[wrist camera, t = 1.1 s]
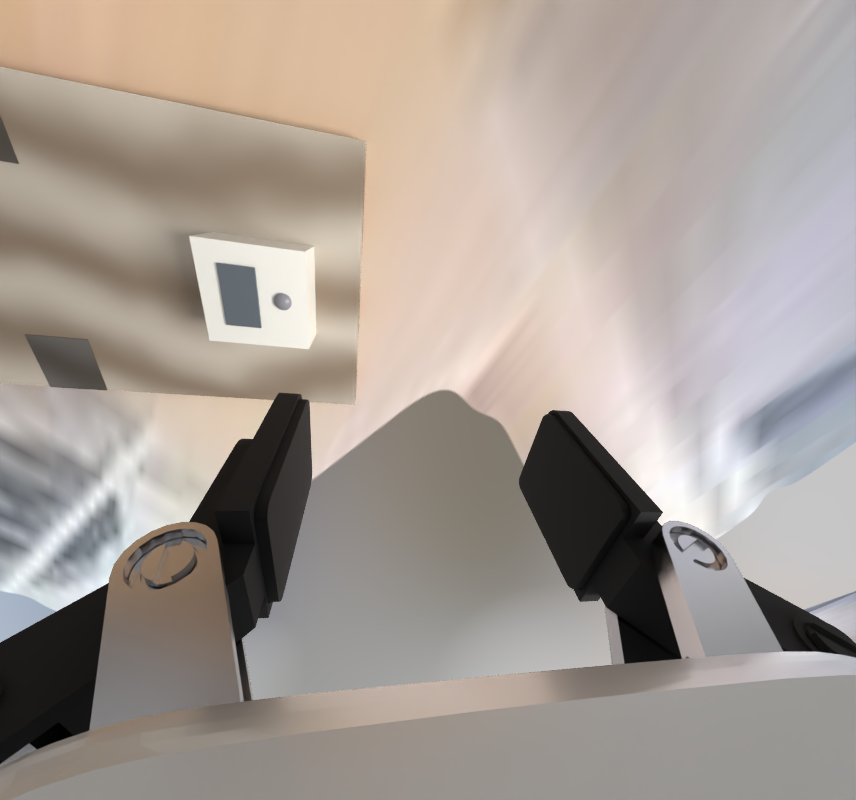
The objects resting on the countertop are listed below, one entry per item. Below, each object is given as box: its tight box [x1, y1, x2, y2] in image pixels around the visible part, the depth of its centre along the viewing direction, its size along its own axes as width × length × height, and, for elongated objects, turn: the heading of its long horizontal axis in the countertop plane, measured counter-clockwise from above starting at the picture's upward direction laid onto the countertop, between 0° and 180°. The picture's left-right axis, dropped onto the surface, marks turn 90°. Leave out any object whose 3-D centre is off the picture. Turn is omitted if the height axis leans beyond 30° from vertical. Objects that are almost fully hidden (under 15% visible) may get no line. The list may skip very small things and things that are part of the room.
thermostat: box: [189, 232, 316, 349], centre depth 21 cm, size 6×6×3 cm
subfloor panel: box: [0, 67, 366, 405], centre depth 21 cm, size 18×26×1 cm
